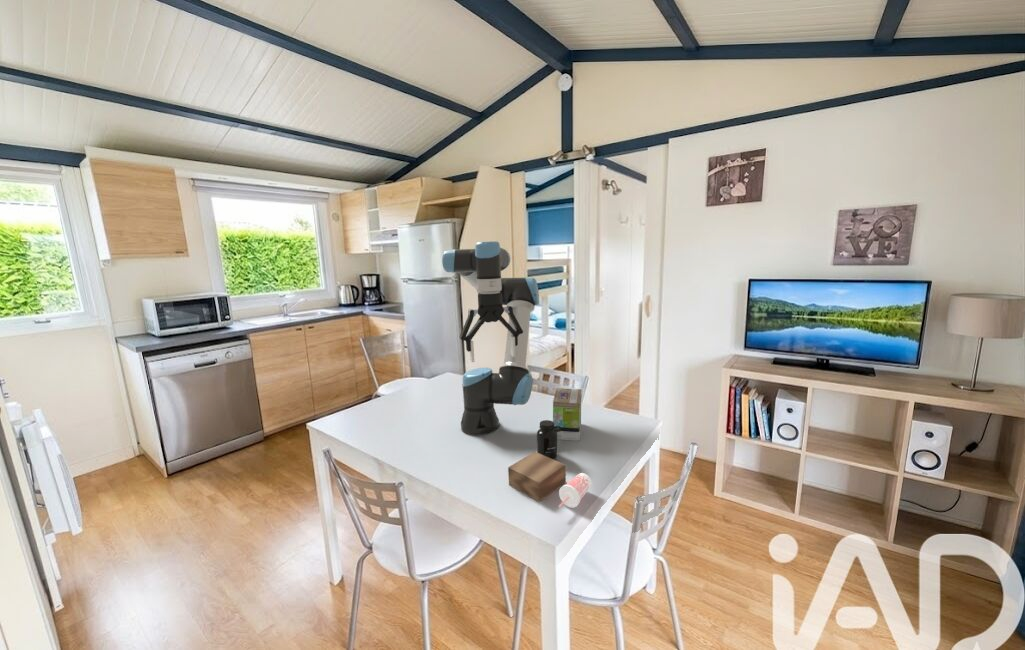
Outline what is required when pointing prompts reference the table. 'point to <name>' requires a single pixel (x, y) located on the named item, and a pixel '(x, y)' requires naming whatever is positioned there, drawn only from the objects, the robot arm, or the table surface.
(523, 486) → the walnut block
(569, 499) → the beverage cup
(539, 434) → the supplement bottle
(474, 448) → the table surface
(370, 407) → the table surface
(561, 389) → the tea box
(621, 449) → the table surface
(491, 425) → the robot arm
